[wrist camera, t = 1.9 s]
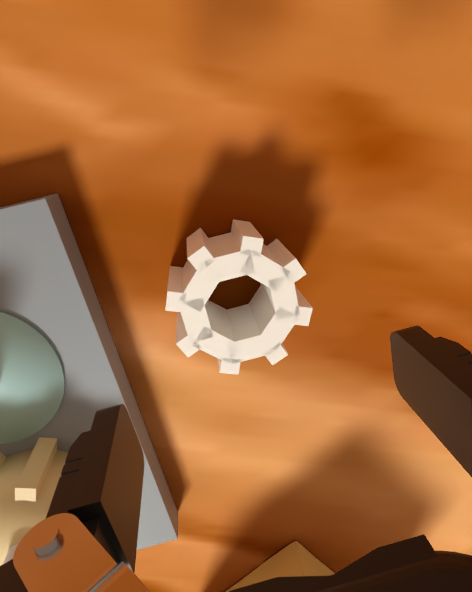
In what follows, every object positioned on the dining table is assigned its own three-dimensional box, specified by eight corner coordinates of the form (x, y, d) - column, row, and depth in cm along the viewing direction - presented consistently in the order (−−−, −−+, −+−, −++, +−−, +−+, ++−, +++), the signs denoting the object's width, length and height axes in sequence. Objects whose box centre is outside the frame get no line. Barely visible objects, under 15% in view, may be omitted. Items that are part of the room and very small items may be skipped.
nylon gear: (277, 207, 22) (297, 222, 18) (299, 319, 24) (320, 352, 20) (155, 238, 22) (149, 259, 18) (188, 348, 24) (189, 387, 20)
